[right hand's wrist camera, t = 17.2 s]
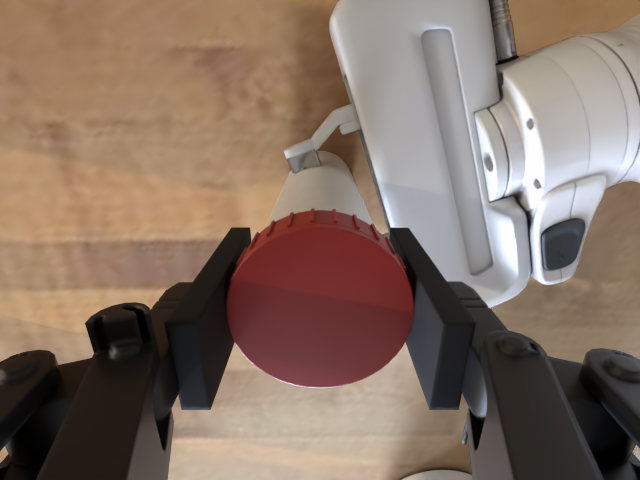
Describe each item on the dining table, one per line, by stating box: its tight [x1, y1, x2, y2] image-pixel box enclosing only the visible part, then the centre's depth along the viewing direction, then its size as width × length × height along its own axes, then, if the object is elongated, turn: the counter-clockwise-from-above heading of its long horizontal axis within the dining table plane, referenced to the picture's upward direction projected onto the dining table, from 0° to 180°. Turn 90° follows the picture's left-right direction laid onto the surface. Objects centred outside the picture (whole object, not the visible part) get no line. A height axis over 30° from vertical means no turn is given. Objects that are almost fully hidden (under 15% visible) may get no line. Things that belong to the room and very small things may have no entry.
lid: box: [226, 208, 414, 388], centre depth 11 cm, size 6×6×2 cm
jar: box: [265, 151, 373, 228], centre depth 20 cm, size 5×5×18 cm
